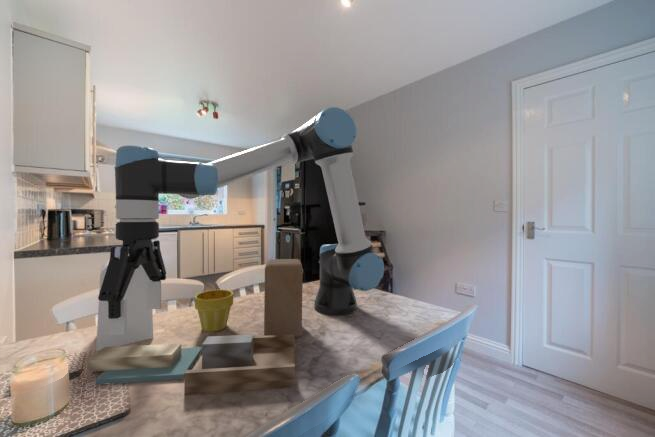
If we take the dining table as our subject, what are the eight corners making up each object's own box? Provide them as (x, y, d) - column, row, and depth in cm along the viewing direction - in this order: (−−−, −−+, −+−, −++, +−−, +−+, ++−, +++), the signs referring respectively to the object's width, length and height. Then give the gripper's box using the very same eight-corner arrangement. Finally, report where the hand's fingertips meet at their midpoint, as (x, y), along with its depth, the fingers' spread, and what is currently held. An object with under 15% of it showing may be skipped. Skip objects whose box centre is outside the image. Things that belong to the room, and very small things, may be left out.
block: (302, 338, 72) (302, 264, 72) (263, 341, 70) (264, 265, 70) (299, 323, 82) (300, 258, 81) (266, 325, 80) (266, 258, 80)
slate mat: (202, 351, 64) (202, 347, 64) (183, 379, 54) (183, 374, 54) (129, 355, 62) (129, 350, 62) (95, 384, 51) (95, 379, 51)
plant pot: (219, 337, 72) (220, 300, 72) (186, 333, 74) (186, 298, 74) (239, 322, 82) (240, 290, 82) (209, 319, 84) (210, 288, 84)
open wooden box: (294, 350, 65) (294, 323, 65) (294, 387, 51) (295, 352, 51) (208, 355, 63) (208, 326, 63) (184, 395, 49) (184, 358, 49)
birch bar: (181, 354, 61) (181, 343, 61) (171, 366, 56) (171, 354, 56) (104, 358, 59) (104, 347, 59) (86, 371, 54) (86, 359, 54)
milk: (99, 333, 74) (99, 238, 73) (149, 323, 81) (150, 237, 80) (96, 351, 64) (96, 242, 64) (153, 338, 71) (153, 240, 71)
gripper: (149, 219, 69) (150, 301, 69) (70, 222, 44) (71, 349, 45) (180, 219, 70) (180, 300, 70) (119, 222, 45) (120, 347, 46)
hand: (138, 319), depth 57 cm, fingers open, 13 cm apart
